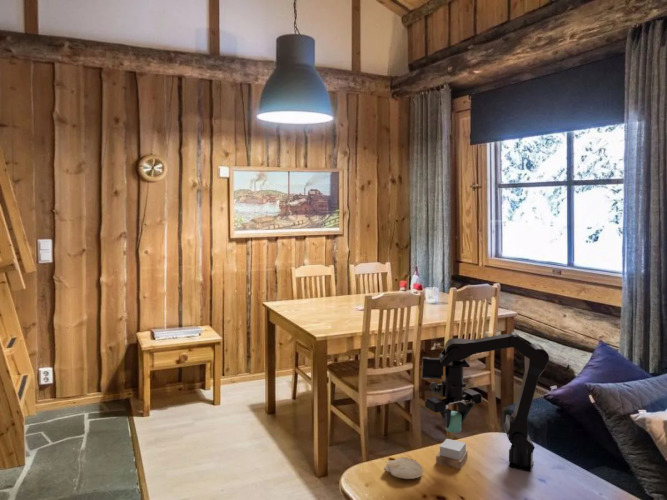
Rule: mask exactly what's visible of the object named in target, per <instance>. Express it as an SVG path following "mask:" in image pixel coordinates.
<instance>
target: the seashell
mask: <svg viewBox="0 0 667 500" xmlns="http://www.w3.org/2000/svg"><path fill="white" fill-rule="evenodd" d="M383 470H384V471H386V472H389V473H390V475H392V477H395V478H398V479H399V478H400V479H405V480H414V479H417V478H420V477H422V475H423V472H424V470H423V468H422V465H421V463H418V461H416V460H414V459H413V458H410V457H409V458H408V457H406V456H405V457H404V456H403V457H398V458H396V459H394V460H388V462H387V464H386V465H385V466H384V468H383Z"/></svg>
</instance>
